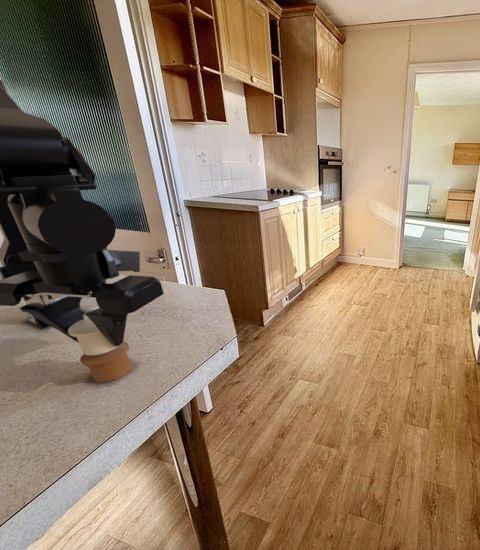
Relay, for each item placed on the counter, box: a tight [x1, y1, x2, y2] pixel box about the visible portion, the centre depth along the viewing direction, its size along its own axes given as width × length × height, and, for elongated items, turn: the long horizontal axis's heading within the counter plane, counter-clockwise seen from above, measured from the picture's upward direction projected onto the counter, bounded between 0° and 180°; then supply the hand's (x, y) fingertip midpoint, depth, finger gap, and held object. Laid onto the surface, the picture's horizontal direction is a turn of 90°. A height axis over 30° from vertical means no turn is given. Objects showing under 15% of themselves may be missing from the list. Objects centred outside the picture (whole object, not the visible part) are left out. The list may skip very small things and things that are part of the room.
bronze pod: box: [79, 340, 133, 384], centre depth 43 cm, size 5×5×4 cm
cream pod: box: [68, 317, 118, 355], centre depth 41 cm, size 5×5×4 cm
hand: (101, 343), depth 41 cm, fingers closed on cream pod, 5 cm apart
